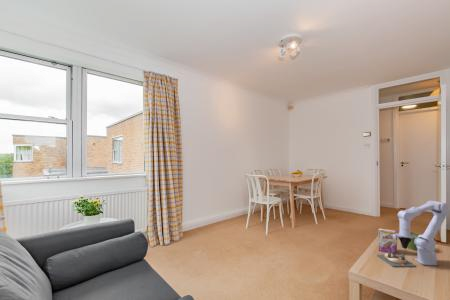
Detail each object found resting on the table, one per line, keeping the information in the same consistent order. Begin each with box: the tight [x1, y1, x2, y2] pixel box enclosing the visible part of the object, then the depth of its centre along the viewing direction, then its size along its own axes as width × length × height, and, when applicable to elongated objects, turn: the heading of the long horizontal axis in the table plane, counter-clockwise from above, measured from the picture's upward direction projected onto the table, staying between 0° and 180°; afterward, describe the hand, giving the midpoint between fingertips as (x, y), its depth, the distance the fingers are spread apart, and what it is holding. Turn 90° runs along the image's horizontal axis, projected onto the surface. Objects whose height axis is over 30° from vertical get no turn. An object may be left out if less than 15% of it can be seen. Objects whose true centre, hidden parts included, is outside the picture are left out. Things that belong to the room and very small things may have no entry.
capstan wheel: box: [384, 248, 407, 264], centre depth 149 cm, size 12×12×6 cm
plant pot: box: [407, 231, 421, 251], centre depth 168 cm, size 12×12×11 cm
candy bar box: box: [377, 227, 398, 254], centre depth 163 cm, size 11×5×16 cm, turn 58°
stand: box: [376, 254, 416, 268], centre depth 149 cm, size 15×15×1 cm
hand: (404, 248), depth 146 cm, fingers closed
